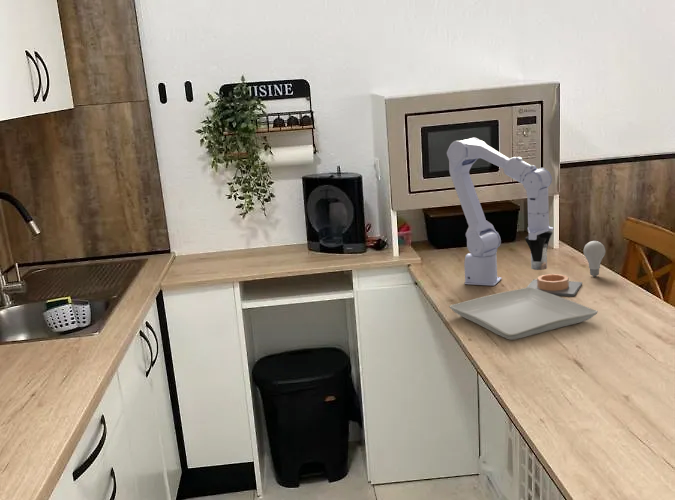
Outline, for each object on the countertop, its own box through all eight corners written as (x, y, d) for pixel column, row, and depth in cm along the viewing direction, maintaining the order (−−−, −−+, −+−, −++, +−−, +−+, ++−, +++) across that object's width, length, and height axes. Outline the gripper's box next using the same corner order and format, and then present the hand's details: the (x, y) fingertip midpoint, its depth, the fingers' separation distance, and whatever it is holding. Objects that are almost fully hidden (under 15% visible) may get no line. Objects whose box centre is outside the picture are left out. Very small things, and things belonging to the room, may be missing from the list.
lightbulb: (606, 279, 214) (606, 243, 212) (585, 279, 216) (584, 243, 213) (603, 273, 220) (603, 238, 218) (582, 274, 221) (582, 239, 219)
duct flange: (523, 293, 208) (523, 282, 207) (533, 281, 218) (533, 271, 217) (573, 296, 201) (573, 285, 200) (582, 284, 211) (581, 273, 210)
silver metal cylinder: (529, 269, 206) (528, 246, 205) (532, 265, 210) (531, 242, 209) (546, 270, 204) (545, 246, 203) (548, 266, 208) (548, 242, 207)
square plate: (447, 318, 194) (447, 304, 193) (530, 298, 204) (530, 285, 203) (509, 348, 170) (508, 332, 169) (600, 324, 180) (600, 309, 179)
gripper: (546, 217, 196) (547, 266, 199) (558, 207, 208) (559, 253, 211) (520, 217, 199) (522, 265, 202) (534, 207, 211) (535, 252, 214)
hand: (539, 259), depth 207 cm, fingers closed on silver metal cylinder, 4 cm apart
